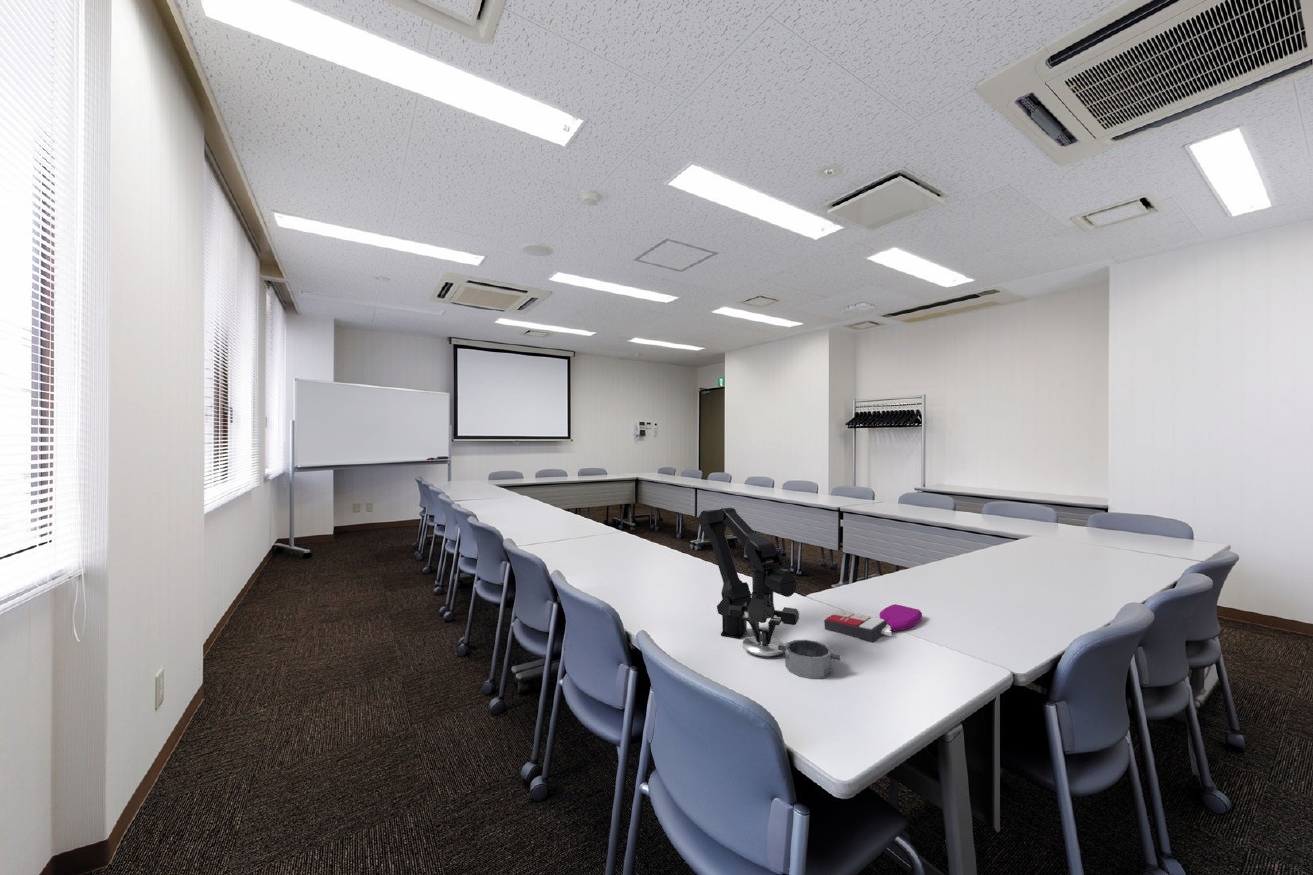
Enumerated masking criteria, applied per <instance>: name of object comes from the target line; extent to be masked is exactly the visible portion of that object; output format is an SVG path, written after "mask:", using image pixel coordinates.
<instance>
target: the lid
mask: <svg viewBox="0 0 1313 875" xmlns="http://www.w3.org/2000/svg"><path fill="white" fill-rule="evenodd" d="M768 629H769V628H765V627H759V643H758V642H757V640H756V638H755V635H752V636H750V637H747V638H745V639H743V641H742V648H743V649H744V651H746V652H747V653H750V654H752V655H754V656H759V657H763V658H764V657H765V658H766V657H767V658H769V657H770V658H771V657H774V656H775V657H776V656H778V655H781V654H783V653H785V651H781V650H778V646H779V645H783V646H786V645H785V643H784V642H783V641H782V640H780V639H777V638H775V637H772V639H771V642H770V644H768Z"/></svg>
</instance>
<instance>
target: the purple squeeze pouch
mask: <svg viewBox="0 0 1313 875" xmlns="http://www.w3.org/2000/svg"><path fill="white" fill-rule="evenodd" d="M922 617H923V613H922V612H921V610H920V609H918V608H915V607H914V608H913V607H910V606H905V605H901V604H897V603H896V604H891V605H888V606H887V607H885V608H883V609H882V610H881V611H880V612H879V619H884V620H886V621H887V625H886V627H885V628H883V629H882V631H881V634H884V635H883V636H889V637H892V632H895V631H901V630H909V629H910V628H913V627H915V626H916V625H917V624H918V623H920V621H921V620H922V619H923V618H922Z"/></svg>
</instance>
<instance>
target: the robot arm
mask: <svg viewBox="0 0 1313 875" xmlns="http://www.w3.org/2000/svg"><path fill="white" fill-rule="evenodd" d="M698 523H699V526H700V527H701V529H702V530H701V531H702V532H703V534H705V535H706V536H707V537H708V538H709V539H710V540H709V541H710V543H711V546H712V549H713V553H714V557H715V560H716V564H717V567H718V569H719V573H720V576H721V579H722V583H723V585H722V587H721V588H722V589H721V593H720V594H721V600H720V602H718V604H717V605H716V609H717V614H719V615H721V618H722V619H721V620H722V623H721V624H722V627H721V628H722V631H721V632H720V635H721V636H723V637H730V638H734V639H735V638H736V639H742V638H743V637H744V636H745V635H746V634H747V632H748V626H747V624H749V625H750V628H751V629H752V632H753V634H754V635H753V636H755V638H756V640H757V642H758V643H759V629H760V623H761V624H764V623H766V622H767V620H768V619H769V621H768V623H767V625H768V628H767V629H768V644H770V642H771V639H772V638H773V635H774V632H775V629H776V627H777V626H780V625H781V623H782V624H784V625H789V626H790V625H791V626H796V625H797V624H798V621H799V619H800V616H799V615H800V613H799V610H798V609H797V608H794V607H793V608H792V607H788V606H787V607H785V606H784V607H783V609H782V610H777V609H775V603H774V593H775V594H778V595H781V596H783V597H786V598H790V597H791V596H793V595H794V594H795V592H796V589H797V584H798V583H797V581H796V578H795V577H794V576H793V575H791V570H790V569H786V568H785V565H784V563H783V562H784V561H783V560H782V558H781V556H780V554H779V552H778V550H777V547H776V545H775V544H774V542H772V541H771V540H769V539H768V538H767V537H764V536H762V535H760V534H758V533H757V532H755V531H754V530H753V528H751V526H749V524H748V523H746V522H745V520H744V519H743V518H742V517H741V516H740V515H739V514H738V513H737V510H736V509H735V508H734V507H721V508H720V509H718V508H717V509H708V510H702V511H701V512H700V514H699V515H698ZM727 528H728V529H729V531H730V532H732V534H733V535H734V536H735V537H736V538H737V539H738V541H739V542H741V543H742V545H743V547H744V553H745V555H746V556H747V558H748V559H749V561H750V563H749V564H747V565H746V566H747V569H750V570H751V571H752V572H751V574H752V575H751V577H752V587H751V588H752V592H751V590H750V588H749V584H748V583H747V582H743V581H742V580H741V579H740V577H739V574H738V571H737V567H736V564H735V562H734V559H733V555H732V552H731V549H730V547H729V543H728V539H727V536H726V532H727V531H726V530H727ZM784 568H785V569H784Z"/></svg>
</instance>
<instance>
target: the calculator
mask: <svg viewBox="0 0 1313 875" xmlns="http://www.w3.org/2000/svg"><path fill="white" fill-rule="evenodd" d="M823 622H824V623H823V624H824V630H826V631H830V632H833V633H836V634H837V633H838V634H843V635H847V636H849V637H850V636H851V637H855V638H858V639H859V640H861V641H865V642H869V643H875V642H876V641H877V640H879V639H881V638H882V637H883V636H885V635H884V634H881V631H882V629H883V628H885V627H886V625H887V621H886V620H884V619H881V618H880V617H872V616H870V615H866V614H860V613H854V612H851V611H847V610H845V611H844V610H838V611H836V612H835V613H833V614H831V615H830V616H827V617H825V619H824V620H823Z"/></svg>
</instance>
